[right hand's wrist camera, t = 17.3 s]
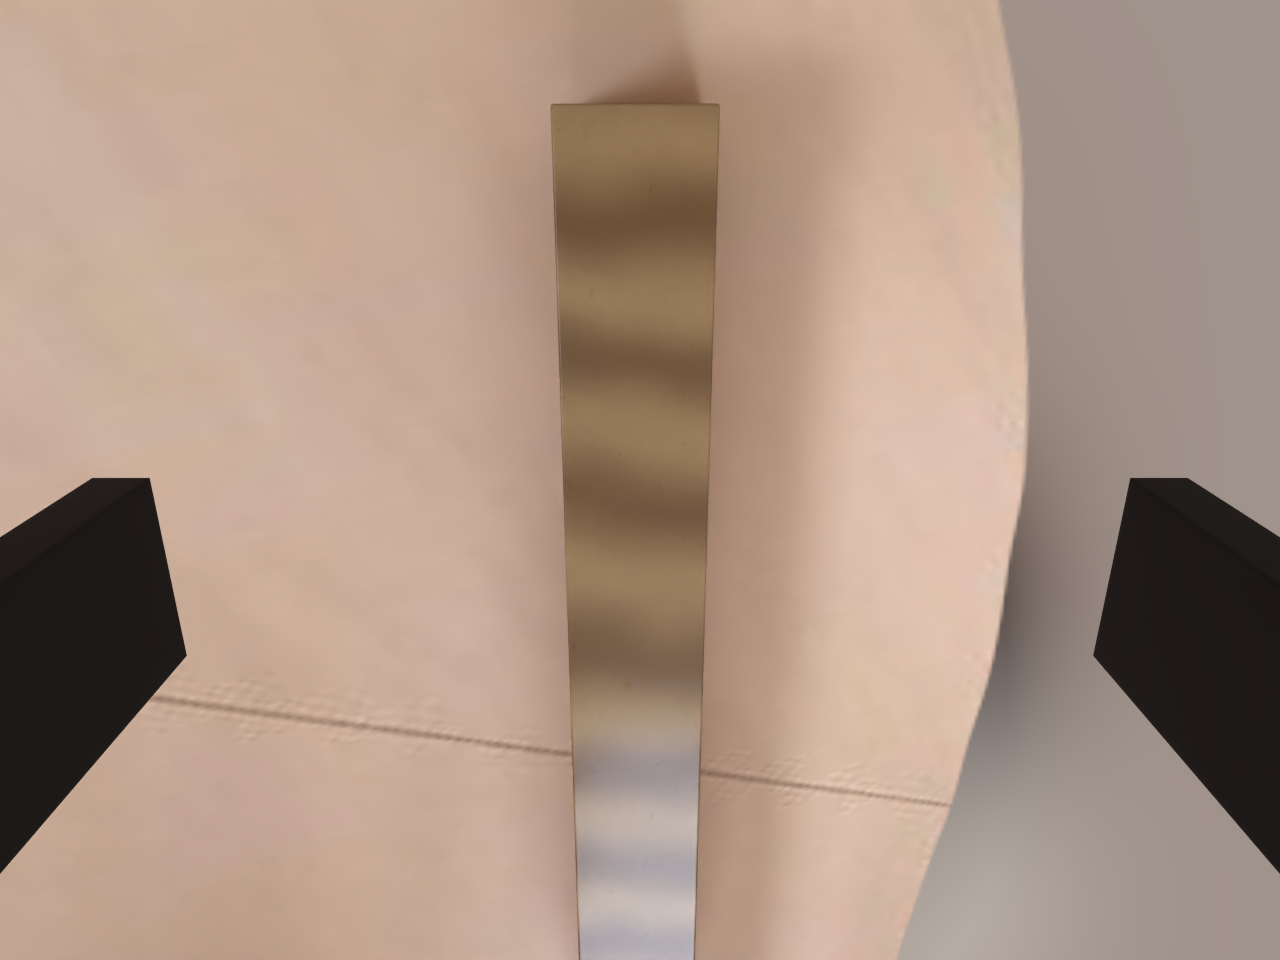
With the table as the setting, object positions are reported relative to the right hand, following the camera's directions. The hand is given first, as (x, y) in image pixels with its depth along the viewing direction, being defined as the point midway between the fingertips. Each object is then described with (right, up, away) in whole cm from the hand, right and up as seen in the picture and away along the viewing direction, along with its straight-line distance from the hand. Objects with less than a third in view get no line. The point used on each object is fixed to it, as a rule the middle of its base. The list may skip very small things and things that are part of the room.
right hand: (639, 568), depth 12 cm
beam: (0, -7, +34) cm, 35 cm away
